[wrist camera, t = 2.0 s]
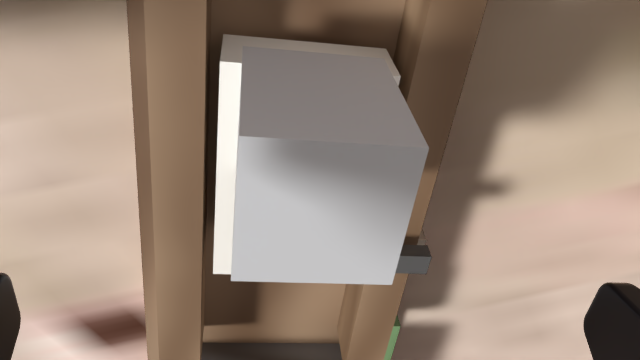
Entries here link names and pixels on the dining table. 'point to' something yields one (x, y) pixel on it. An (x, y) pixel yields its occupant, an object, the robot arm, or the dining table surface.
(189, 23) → the gauge bench
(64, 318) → the dining table surface
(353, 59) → the pale grey cube box
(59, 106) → the dining table surface
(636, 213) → the dining table surface
